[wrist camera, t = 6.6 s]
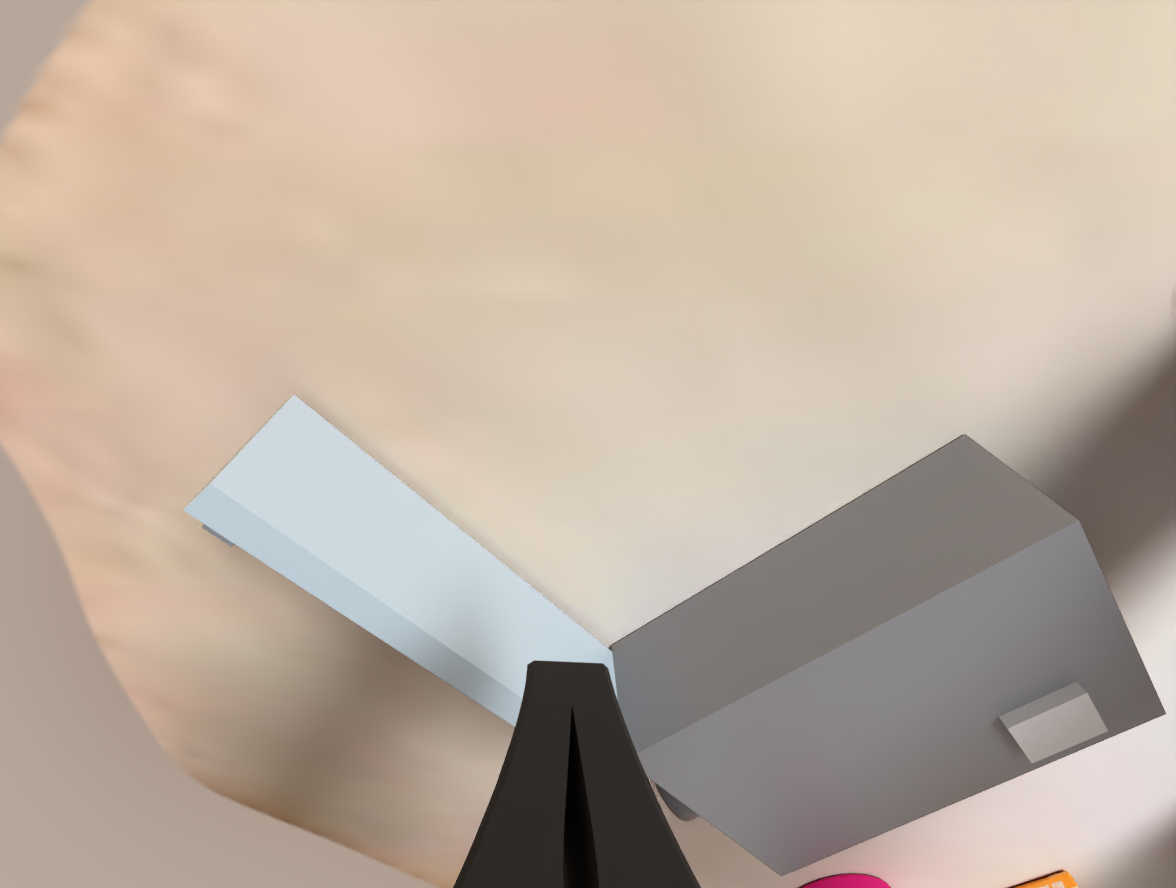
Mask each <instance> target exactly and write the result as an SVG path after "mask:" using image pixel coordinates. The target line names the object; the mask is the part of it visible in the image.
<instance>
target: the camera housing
mask: <svg viewBox="0 0 1176 888" xmlns="http://www.w3.org/2000/svg"><path fill="white" fill-rule="evenodd" d="M612 654H613V663H614V672H615V680H616V689H617V698H618V703H619V706H620V709H621V712H622V715H623V718H624V721H625V723H626V726H627V729H628V731H629V734H630V737H631V739H632V742H633V745H634V747H635V749H636V752H637V754H638V757H639V759H640V762H641V764H642V766H643V769H644V771H645V773H646V776H647V777H648V778H650V779H651V780H652V781H654V783H655V785H656V787H657V789H658V791H659V793H660V795H661V797H662V799H663V800H664V802H665V803H666V805H667V806H668V808H669V809H670V810H671V811H672V812H673V813H674V814H675V815H676V816H677V817H678V818H679V819H681V820H683V821H690V820H692V819H695V818H697V817H699V816H701V817H702V818H703V819H705V820H706V821H707V822H709V823H710V824H711V825H713V826H714V827H715V828H717V829H718V830H720V831H721V832H722V833H724V834H725V835H726V836H728V837H729V838H730V839H732V840H733V841H734V842H736V843H737V844H738V845H740V846H741V847H742V848H744V849H745V850H746V851H748V852H749V853H750V854H752V855H753V856H755V857H756V858H757V859H759V860H760V861H761V862H763V863H764V864H765V865H767V866H768V867H769V868H771V869H772V870H773V871H775V872H776V873H777V874H779V875H780V876H784V875H786V874H788V873H791V872H793V871H795V870H798V869H800V868H803V867H805V866H807V865H810V864H812V863H814V862H817V861H819V860H822V859H824V858H826V857H829V856H831V855H833V854H836V853H838V852H840V851H843V850H845V849H848V848H850V847H852V846H855V845H857V844H859V843H862V842H864V841H866V840H869V839H871V838H874V837H876V836H878V835H881V834H883V833H885V832H888V831H890V830H892V829H895V828H897V827H900V826H902V825H904V824H907V823H909V822H911V821H914V820H916V819H919V818H921V817H923V816H926V815H928V814H930V813H933V812H935V811H937V810H940V809H942V808H945V807H947V806H949V805H952V804H954V803H956V802H959V801H961V800H963V799H966V798H968V797H971V796H973V795H975V794H978V793H980V792H982V791H985V790H987V789H989V788H992V787H994V786H997V785H999V784H1001V783H1004V782H1006V781H1008V780H1011V779H1013V778H1016V777H1018V776H1020V775H1023V774H1025V773H1027V772H1030V771H1032V770H1034V769H1037V768H1039V767H1042V766H1044V765H1046V764H1049V763H1051V762H1053V761H1056V760H1058V759H1060V758H1063V757H1065V756H1068V755H1070V754H1072V753H1075V752H1077V751H1079V750H1082V749H1084V748H1086V747H1089V746H1091V745H1094V744H1096V743H1098V742H1101V741H1103V740H1105V739H1108V738H1110V737H1113V736H1115V735H1117V734H1120V733H1122V732H1124V731H1127V730H1129V729H1131V728H1134V727H1136V726H1139V725H1141V724H1143V723H1146V722H1148V721H1150V720H1153V719H1155V718H1157V717H1160V716H1162V715H1165V714H1166V713H1165V710H1164V708H1163V706H1162V704H1161V701H1160V699H1159V697H1158V695H1157V692H1156V690H1155V688H1154V686H1153V684H1152V681H1151V679H1150V677H1149V675H1148V672H1147V670H1146V668H1145V666H1144V664H1143V661H1142V659H1141V657H1140V655H1139V652H1138V650H1137V648H1136V646H1135V644H1134V641H1133V639H1132V637H1131V635H1130V632H1129V630H1128V628H1127V626H1126V623H1125V621H1124V619H1123V617H1122V615H1121V612H1120V610H1119V608H1118V606H1117V603H1116V601H1115V599H1114V597H1113V595H1112V592H1111V590H1110V588H1109V586H1108V583H1107V581H1106V579H1105V577H1104V575H1103V572H1102V570H1101V568H1100V566H1099V563H1098V561H1097V559H1096V557H1095V554H1094V552H1093V550H1092V548H1091V546H1090V543H1089V541H1088V539H1087V537H1086V534H1085V532H1084V530H1083V528H1082V526H1081V523H1080V521H1079V520H1078V519H1077V518H1076V517H1074V516H1073V515H1072V514H1070V513H1069V512H1068V511H1066V510H1065V509H1064V508H1062V507H1061V506H1060V505H1058V504H1057V503H1056V502H1054V501H1053V500H1052V499H1050V498H1049V497H1048V496H1046V495H1045V494H1044V493H1043V492H1041V491H1040V490H1039V489H1037V488H1036V487H1035V486H1033V485H1032V484H1031V483H1029V482H1028V481H1027V480H1025V479H1024V478H1023V477H1021V476H1020V475H1019V474H1017V473H1016V472H1015V471H1013V470H1012V469H1011V468H1009V467H1008V466H1007V465H1006V464H1004V463H1003V462H1002V461H1000V460H999V459H998V458H996V457H995V456H994V455H992V454H991V453H990V452H988V451H987V450H986V449H984V448H983V447H982V446H980V445H979V444H978V443H976V442H975V441H974V440H972V439H971V438H970V437H969V436H967V435H966V434H964V435H963V436H961V437H959V438H958V439H956V440H954V441H953V442H951V443H949V444H948V445H946V446H944V447H943V448H941V449H939V450H937V451H936V452H934V453H932V454H931V455H929V456H927V457H926V458H924V459H922V460H921V461H919V462H917V463H916V464H914V465H912V466H911V467H909V468H907V469H906V470H904V471H902V472H901V473H899V474H897V475H896V476H894V477H892V478H891V479H889V480H887V481H886V482H884V483H882V484H881V485H879V486H877V487H876V488H874V489H872V490H871V491H869V492H867V493H866V494H864V495H862V496H861V497H859V498H857V499H856V500H854V501H852V502H851V503H849V504H847V505H846V506H844V507H842V508H840V509H839V510H837V511H835V512H834V513H832V514H830V515H829V516H827V517H825V518H824V519H822V520H820V521H819V522H817V523H815V524H814V525H812V526H810V527H809V528H807V529H805V530H804V531H802V532H800V533H799V534H797V535H795V536H794V537H792V538H790V539H789V540H787V541H785V542H784V543H782V544H780V545H779V546H777V547H775V548H774V549H772V550H770V551H769V552H767V553H765V554H764V555H762V556H760V557H759V558H757V559H755V560H754V561H752V562H750V563H749V564H747V565H745V566H743V567H742V568H740V569H738V570H737V571H735V572H733V573H732V574H730V575H728V576H727V577H725V578H723V579H722V580H720V581H718V582H717V583H715V584H713V585H712V586H710V587H708V588H707V589H705V590H703V591H702V592H700V593H698V594H697V595H695V596H693V597H692V598H690V599H688V600H687V601H685V602H683V603H682V604H680V605H678V606H677V607H675V608H673V609H672V610H670V611H668V612H667V613H665V614H663V615H662V616H660V617H658V618H657V619H655V620H653V621H652V622H650V623H648V624H646V625H645V626H643V627H641V628H640V629H638V630H636V631H635V632H633V633H631V634H630V635H628V636H626V637H625V638H623V639H621V640H620V641H618V642H616V643H615V644H613V645H612Z"/></svg>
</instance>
